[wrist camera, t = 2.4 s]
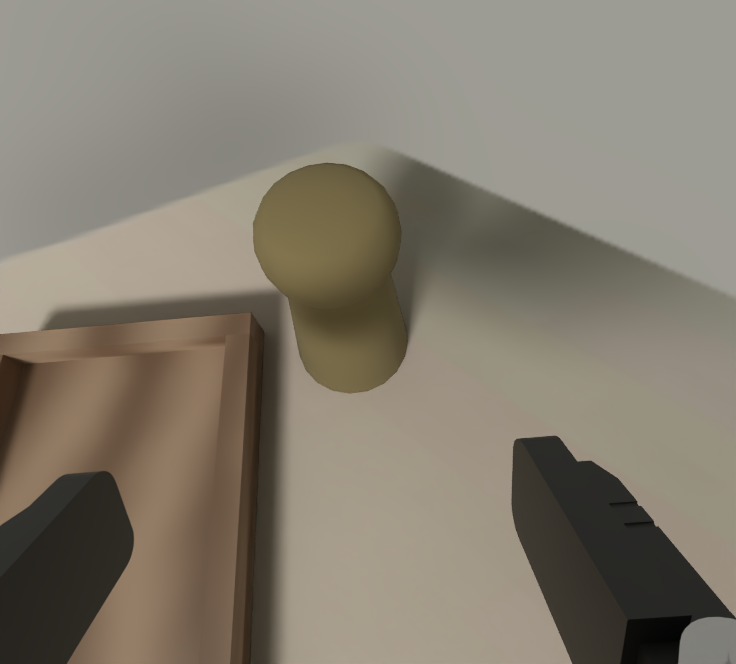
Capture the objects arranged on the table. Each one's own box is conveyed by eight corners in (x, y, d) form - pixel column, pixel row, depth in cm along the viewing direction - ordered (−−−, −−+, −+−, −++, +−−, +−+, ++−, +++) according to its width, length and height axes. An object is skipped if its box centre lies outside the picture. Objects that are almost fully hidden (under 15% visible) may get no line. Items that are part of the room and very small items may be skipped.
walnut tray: (264, 331, 24) (250, 312, 22) (246, 751, 16) (222, 786, 14) (24, 352, 24) (-13, 335, 22) (-103, 771, 17) (-177, 807, 15)
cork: (289, 309, 25) (215, 160, 15) (388, 281, 25) (382, 117, 15) (312, 407, 22) (241, 307, 12) (422, 374, 22) (442, 251, 12)
